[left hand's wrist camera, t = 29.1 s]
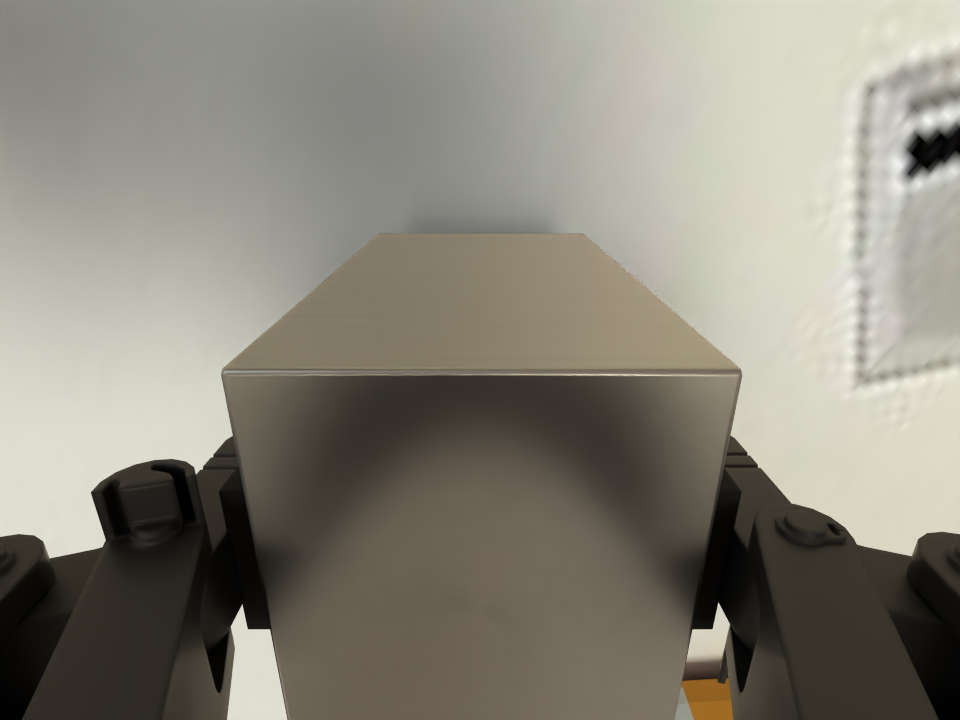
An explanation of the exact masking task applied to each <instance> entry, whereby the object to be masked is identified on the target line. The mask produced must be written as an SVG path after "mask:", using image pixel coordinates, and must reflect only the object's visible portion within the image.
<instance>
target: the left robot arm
mask: <svg viewBox="0 0 960 720" xmlns="http://www.w3.org/2000/svg"><path fill="white" fill-rule="evenodd" d="M91 494H92V498H93V501H94V504H95V507H96V510H97V513H98V516H99V520H100V523H101V526H102V529H103V532H104V535H105V538H106V541H105V543H104V545H103V547H102V548H98V549H94V550H90V551H85V552H80V553H75V554H70V555H65V556H60V557H55V558H50V559H49V556H48V553H47V551H46V548H45V545H44V543H43V541H42V540H40V539H39V538H37V537H36V536H33V535H21V534H17V535H11V536H4V537H0V720H227V714H228V705H229V696H230V687H231V678H232V669H233V660H234V651H235V647H234V641H233V635H232V631H231V625H232V623H233V621H234V619H235V617H236V615H237V613H238V611H239V609H240V607H241V605H242V604H243V608H244V613H245V618H246V622H247V627H248V629H270V625H269V620H268V615H267V610H266V604H265V599H264V594H263V589H262V584H261V578H260V573H259V568H258V563H257V558H256V553H255V547H254V542H253V537H252V532H251V527H250V521H249V516H248V511H247V506H246V501H245V495H244V490H243V485H242V480H241V475H240V469H239V464H238V459H237V454H236V449H235V443H234V438H233V436H232V437H230V438H229V439H227V440H226V441H225V442H224V443H223V444H222V445H221V447H220V448H219V449H218V450H217V451H216V452H215V454H214V457H213V458H210V459H209V461H208V462H207V463H206V464H205V465H204V466H203V470H200V471H199V472H198V473H197V474H195V469H194V467H193V466H191V465H190V464H189V463H187V462H185V461H180V460H174V459H166V460H153V461H149V462H145V463H140V464H136V465H133V466H131V467H128V468H126V469H123V470H121V471H118V472H116V473H114V474H113V475H111V476H109V477H108V478H106V479H105V480H103V481H101V482H100V483H99V484H98V485H97V486H96V488H95V489H94V490H93V491H92V492H91ZM718 602H719V604H720V606H721V608H722V610H723V612H724V613H725V615H726V617H727V619H728V621H729V623H730V627H729V631H728V635H727V640H726V644H725V648H724V653H723V657H722V662H721V666H720V670H719V676H718V683H722V684H725V682H726V678H727V673H728V676H729V685H730V694H731V703H732V712H733V720H960V534H953V533H947V532H936V533H927V534H925V535H924V536H922V537H921V538H919V539H918V541H917V544H916V547H915V549H914V552H913V555H912V556H907V555H902V554H897V553H892V552H887V551H882V550H878V549H873V548H868V547H864V546H860V545H857V544H856V542H855V540H854V539H853V537H852V536H851V535H850V533H849V532H848V531H847V530H846V528H845V527H843V526H842V525H841V524H839V523H838V522H836V521H835V520H834V519H832V518H831V517H829V516H827V515H825V514H822V513H820V512H818V511H816V510H814V509H811V508H807V507H803V506H799V505H796V504H791V503H790V501H789V500H788V499H787V498H786V497H785V496H784V494H783V493H782V492H781V491H780V490H779V489H778V488H777V486H776V485H775V484H774V483H773V482H772V481H771V480H770V478H769V477H768V476H767V475H766V474H765V473H764V471H763V470H762V469H761V468H758V465H757V463H756V462H755V461H754V460H753V459H752V458H751V456H748V455H747V452H746V451H745V450H744V448H743V447H742V446H741V445H740V444H739V443H738V442H737V440H736V439H735V438H733V437H732V436H730V439H729V444H728V450H727V455H726V460H725V465H724V470H723V475H722V480H721V485H720V490H719V495H718V501H717V506H716V511H715V516H714V521H713V526H712V531H711V536H710V541H709V546H708V552H707V557H706V562H705V567H704V572H703V577H702V582H701V587H700V592H699V597H698V603H697V608H696V613H695V618H694V623H693V628H692V629H713V624H714V620H715V615H716V610H717V606H718Z"/></svg>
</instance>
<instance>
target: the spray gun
mask: <svg viewBox="0 0 960 720" xmlns="http://www.w3.org/2000/svg"><path fill="white" fill-rule="evenodd" d="M675 720H733V712H732V703H731V694H730V685H729V678H726V682H725V684H722V683H718V679H705V680H689V681H682V684H681V689H680V694H679V699H678V705H677V710H676V715H675Z"/></svg>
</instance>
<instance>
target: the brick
mask: <svg viewBox="0 0 960 720" xmlns="http://www.w3.org/2000/svg"><path fill="white" fill-rule="evenodd" d="M221 376H222V381H223V386H224V392H225V397H226V402H227V407H228V412H229V417H230V423H231V428H232V433H233V438H234V443H235V449H236V454H237V459H238V464H239V469H240V475H241V480H242V485H243V490H244V495H245V501H246V506H247V511H248V516H249V521H250V527H251V532H252V537H253V542H254V547H255V553H256V558H257V563H258V568H259V573H260V578H261V584H262V589H263V594H264V599H265V604H266V610H267V615H268V620H269V625H270V630H271V636H272V641H273V646H274V651H275V656H276V662H277V667H278V672H279V677H280V682H281V688H282V693H283V698H284V703H285V708H286V714H287V719H288V720H675V715H676V710H677V705H678V699H679V694H680V689H681V684H682V679H683V674H684V669H685V664H686V659H687V654H688V648H689V643H690V638H691V633H692V628H693V623H694V618H695V613H696V608H697V603H698V597H699V592H700V587H701V582H702V577H703V572H704V567H705V562H706V557H707V552H708V546H709V541H710V536H711V531H712V526H713V521H714V516H715V511H716V506H717V501H718V495H719V490H720V485H721V480H722V475H723V470H724V465H725V460H726V455H727V450H728V444H729V439H730V434H731V429H732V424H733V419H734V414H735V409H736V404H737V399H738V393H739V388H740V383H741V378H742V372H741V369H740V368H739V367H738V366H737V365H735V364H734V363H733V362H732V361H731V360H730V359H728V358H727V357H726V356H725V355H724V354H723V353H721V352H720V351H719V350H718V349H717V348H716V347H714V346H713V345H712V344H711V343H710V342H709V341H707V340H706V339H705V338H704V337H703V336H702V335H700V334H699V333H698V332H697V331H696V330H695V329H693V328H692V327H691V326H690V325H689V324H688V323H687V322H685V321H684V320H683V319H682V318H681V317H680V316H678V315H677V314H676V313H675V312H674V311H673V310H671V309H670V308H669V307H668V306H667V305H666V304H664V303H663V302H662V301H661V300H660V299H659V298H657V297H656V296H655V295H654V294H653V293H652V292H650V291H649V290H648V289H647V288H646V287H645V286H643V285H642V284H641V283H640V282H639V281H638V280H637V279H635V278H634V277H633V276H632V275H631V274H630V273H628V272H627V271H626V270H625V269H624V268H623V267H621V266H620V265H619V264H618V263H617V262H616V261H614V260H613V259H612V258H611V257H610V256H609V255H607V254H606V253H605V252H604V251H603V250H602V249H600V248H599V247H598V246H597V245H596V244H595V243H593V242H592V241H591V240H590V239H589V238H588V237H586V236H585V235H584V234H525V233H380V234H378V235H377V236H376V237H374V238H373V239H372V240H371V241H370V242H369V243H367V244H366V245H365V246H364V247H363V248H362V249H360V250H359V251H358V252H357V253H356V254H355V255H354V256H352V257H351V258H350V259H349V260H348V261H347V262H345V263H344V264H343V265H342V266H341V267H340V268H338V269H337V270H336V271H335V272H334V273H333V274H332V275H330V276H329V277H328V278H327V279H326V280H325V281H323V282H322V283H321V284H320V285H319V286H318V287H317V288H315V289H314V290H313V291H312V292H311V293H310V294H308V295H307V296H306V297H305V298H304V299H303V300H301V301H300V302H299V303H298V304H297V305H296V306H295V307H293V308H292V309H291V310H290V311H289V312H288V313H286V314H285V315H284V316H283V317H282V318H281V319H279V320H278V321H277V322H276V323H275V324H274V325H273V326H271V327H270V328H269V329H268V330H267V331H266V332H264V333H263V334H262V335H261V336H260V337H259V338H257V339H256V340H255V341H254V342H253V343H252V344H251V345H249V346H248V347H247V348H246V349H245V350H244V351H242V352H241V353H240V354H239V355H238V356H237V357H236V358H234V359H233V360H232V361H231V362H230V363H229V364H227V365H226V366H225V367H224V368H223V369H222V374H221Z"/></svg>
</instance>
